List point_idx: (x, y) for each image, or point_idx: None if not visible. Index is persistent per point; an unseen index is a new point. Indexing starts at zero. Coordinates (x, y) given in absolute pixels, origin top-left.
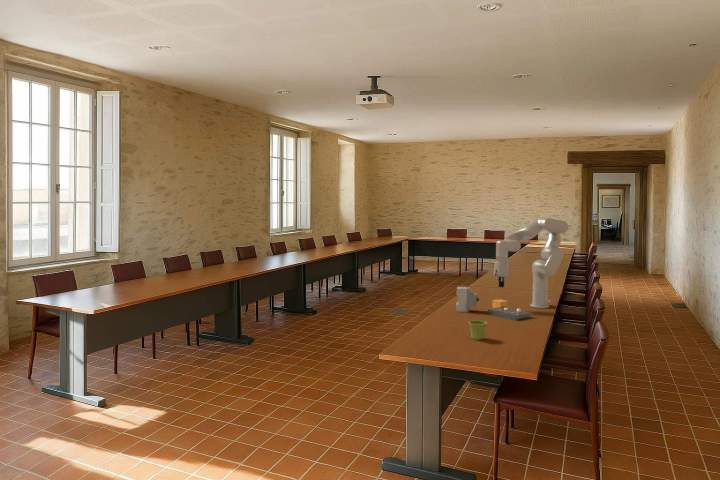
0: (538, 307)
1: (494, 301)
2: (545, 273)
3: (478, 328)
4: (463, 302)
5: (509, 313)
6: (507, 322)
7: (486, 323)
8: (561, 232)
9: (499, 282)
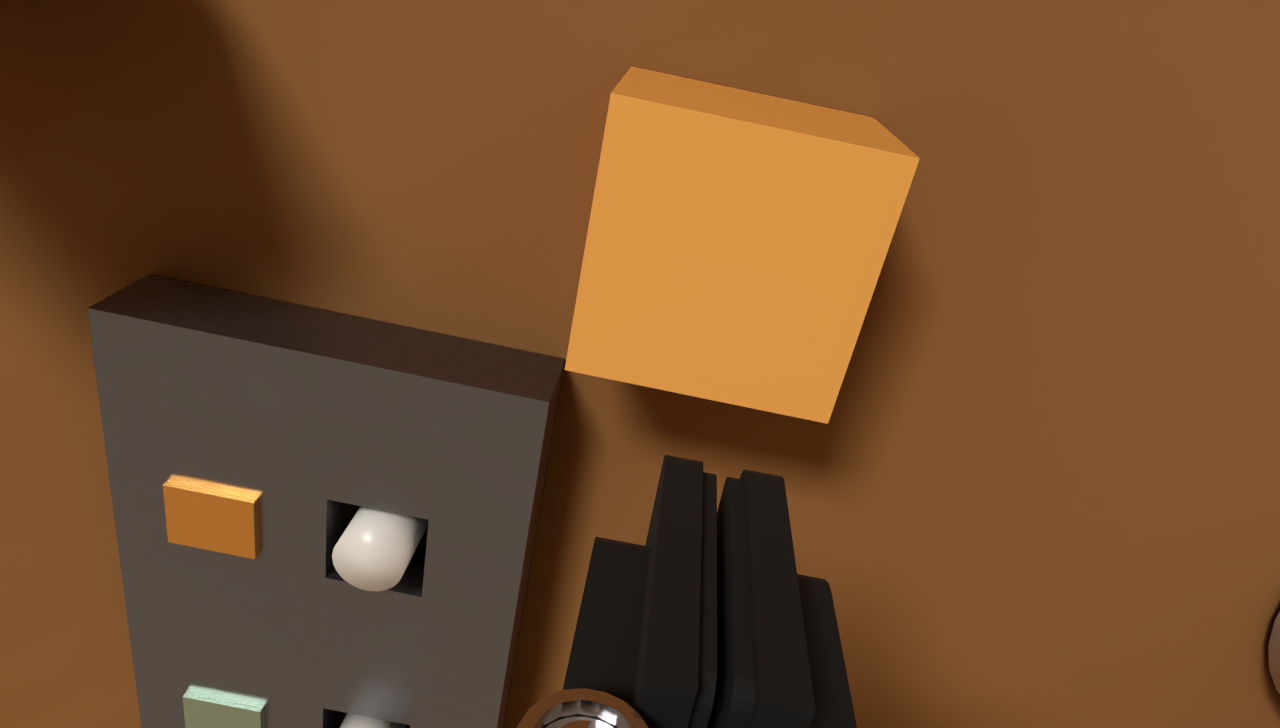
0: (1271, 663)
1: (600, 165)
2: None
3: None
4: None
5: (170, 694)
6: (16, 702)
7: None
8: None
9: (564, 684)
